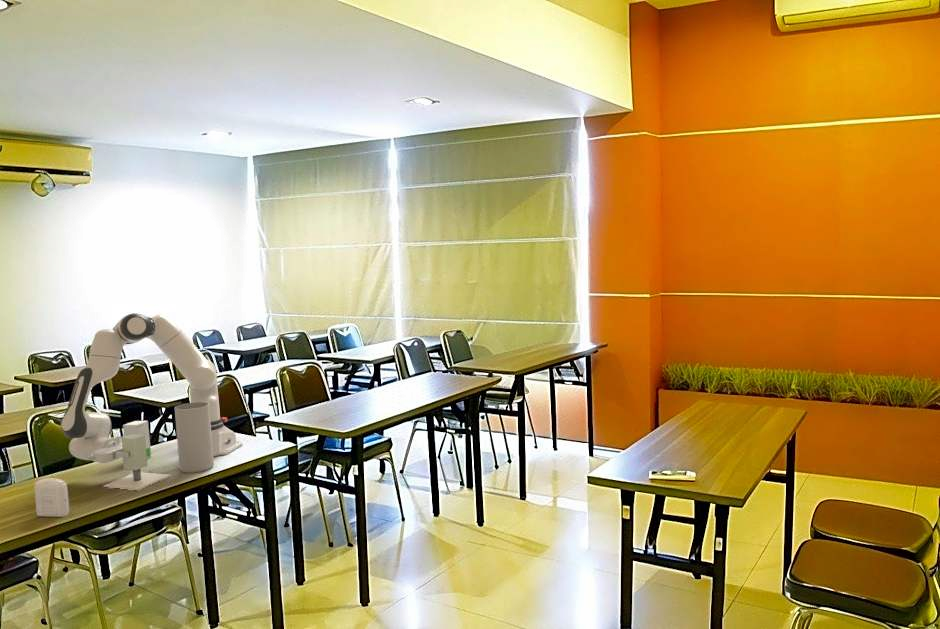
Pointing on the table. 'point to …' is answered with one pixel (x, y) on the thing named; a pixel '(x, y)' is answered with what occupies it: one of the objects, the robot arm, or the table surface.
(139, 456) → the light grey tall block
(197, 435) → the cylinder vase
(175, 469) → the table surface
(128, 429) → the skincare box
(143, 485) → the dock
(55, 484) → the photo printer
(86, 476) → the table surface
